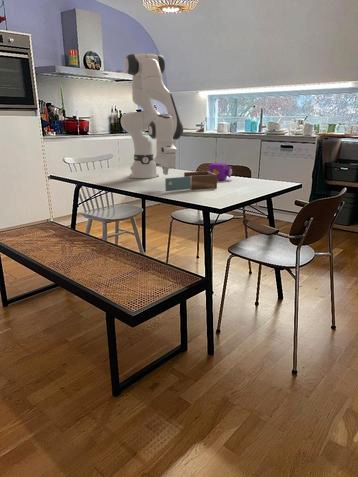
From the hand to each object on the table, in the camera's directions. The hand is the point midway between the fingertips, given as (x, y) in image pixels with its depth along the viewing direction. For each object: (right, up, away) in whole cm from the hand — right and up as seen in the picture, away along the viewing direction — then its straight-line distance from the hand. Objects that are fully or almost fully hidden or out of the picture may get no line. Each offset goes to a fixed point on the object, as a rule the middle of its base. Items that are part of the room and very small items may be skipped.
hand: (165, 174), depth 196 cm
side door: (+7, -9, -5) cm, 12 cm away
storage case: (+19, -5, +7) cm, 21 cm away
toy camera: (+32, +2, +29) cm, 43 cm away
